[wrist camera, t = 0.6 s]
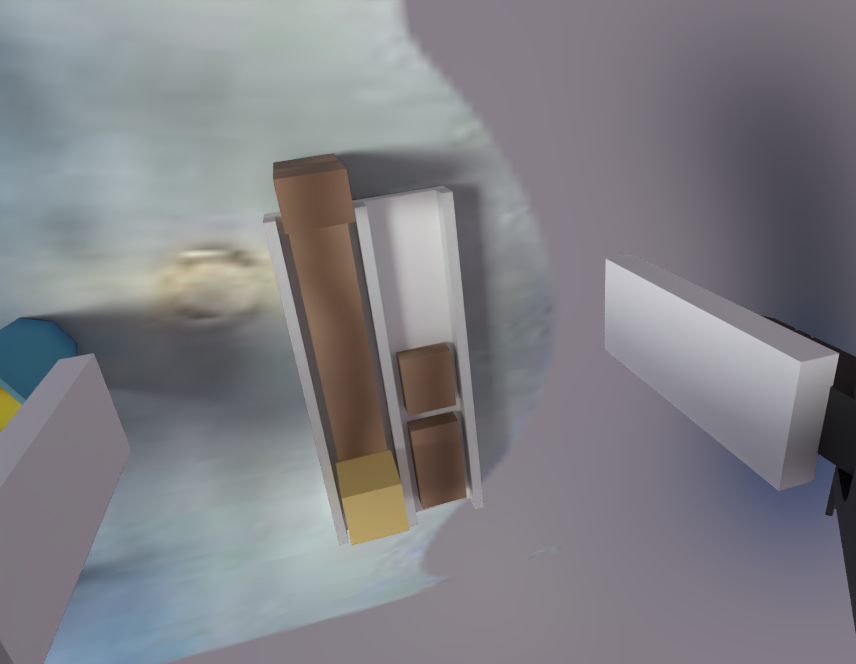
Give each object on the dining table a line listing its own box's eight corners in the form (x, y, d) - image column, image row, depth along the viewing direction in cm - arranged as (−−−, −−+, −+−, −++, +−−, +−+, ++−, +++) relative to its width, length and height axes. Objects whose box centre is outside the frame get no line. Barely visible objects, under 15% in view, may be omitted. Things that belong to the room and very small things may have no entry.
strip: (350, 514, 51) (363, 585, 44) (273, 162, 39) (273, 179, 31) (395, 503, 52) (415, 570, 44) (333, 153, 39) (346, 168, 32)
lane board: (336, 523, 52) (339, 545, 50) (263, 214, 41) (263, 223, 38) (474, 487, 54) (483, 506, 52) (442, 185, 43) (452, 191, 41)
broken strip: (418, 497, 52) (422, 509, 50) (396, 352, 46) (399, 360, 44) (461, 486, 53) (466, 497, 51) (444, 342, 47) (450, 350, 45)
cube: (345, 507, 48) (351, 545, 44) (335, 463, 47) (341, 498, 43) (398, 493, 49) (409, 530, 45) (390, 450, 47) (401, 483, 43)
